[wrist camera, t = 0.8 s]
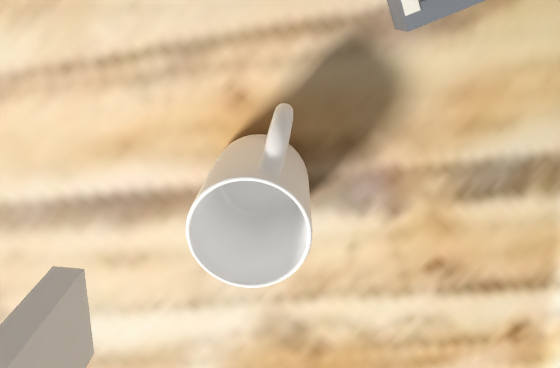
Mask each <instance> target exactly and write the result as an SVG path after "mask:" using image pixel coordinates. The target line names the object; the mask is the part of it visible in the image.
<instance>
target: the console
mask: <svg viewBox="0 0 560 368" xmlns="http://www.w3.org/2000/svg"><path fill="white" fill-rule="evenodd" d="M482 1H485V0H387V2H388V6H389V9H390V13H391V16H392V20H393V23H394V27H395V29H398V30H403V31H407V32H408V31H411V30H413V29H416V28H418V27H421V26H423V25H426V24H428V23H431V22H433V21H435V20H438V19H440V18H443V17H445V16H448V15H450V14H453V13H455V12H458V11H460V10H463V9H465V8H467V7H470V6H472V5H475V4H477V3H480V2H482Z"/></svg>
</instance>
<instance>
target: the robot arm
mask: <svg viewBox="0 0 560 368" xmlns="http://www.w3.org/2000/svg"><path fill="white" fill-rule="evenodd" d="M93 354H94V349H93V341H92V332H91V324H90V315H89V306H88V298H87V289H86V281H85V272H84V269H77V268H66V267H54V266H53V267H52V268H51V269H50V270H49V272H48V273H47V274H46V275H45V276H44V277H43V278H42V279H41V280H40V282H39V283H38V284H37V285H36V286H35V287H34V288H33V289H32V290H31V292H30V293H29V294H28V295H27V296H26V297H25V298H24V299H23V300H22V302H21V303H20V304H19V305H18V306H17V307H16V308H15V309H14V310H13V312H12V313H11V314H10V315H9V316H8V317H7V318H6V319H5V320H4V322H3V323H2V324H1V325H0V368H86V366H87V365H88V363H89V361H90V359H91V358H92V356H93Z"/></svg>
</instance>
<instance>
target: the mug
mask: <svg viewBox="0 0 560 368" xmlns="http://www.w3.org/2000/svg"><path fill="white" fill-rule="evenodd" d="M292 123H293V109H292V107H291V106H290V105H289V104H287V103H282V104H279V105H278V106H277V107H276V109H275V111H274V114H273V117H272V121H271V124H270V127H269V130H268V133H267V135H264V134H254V135H248V136H244V137H241V138H239V139H237V140H235V141H233V142H232V143H231V144H229V145H228V146H227V147H226V148H225V149H224V150H223V151H222V152H221V153H220V155H219V156H218V157H217V159H216V161H215V163H214V165H213V167H212V169H211V170H210V172H209V174H208V176H207V178H206V180H205V182H204V184H203V186H202V187H201V189H200V191H199V193H198V195H197V197H196V199H195V201H194V203H193V205H192V206H191V208H190V211H189V214H188V217H187V222H186V236H187V241H188V245H189V248H190V250H191V252H192V254H193V256H194V258H195V259H196V260H197V262H198V263H199V264H200V265H201V266H202V267H203V269H204V270H206V271H207V272H208V273H209V274H211V275H212V276H214V277H215V278H217V279H219V280H221V281H223V282H225V283H228V284H231V285H235V286H239V287H247V288H256V287H264V286H269V285H272V284H275V283H278V282H280V281H282V280H284V279H286V278H288V277H289V276H291V275H292V274H293V273H294V272H295V271H296V270H297V269H298V268H299V267H300V266H301V265H302V263H303V262H304V261H305V259H306V257H307V255H308V253H309V250H310V247H311V242H312V222H311V207H310V193H309V180H308V173H307V169H306V166H305V164H304V161H303V160H302V158H301V156H300V155H299V153H298V152H297V151H296V150H295V149H294V148H293V147H292V146H291V145H290V144H288V143H289V139H290V134H291V129H292Z"/></svg>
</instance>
